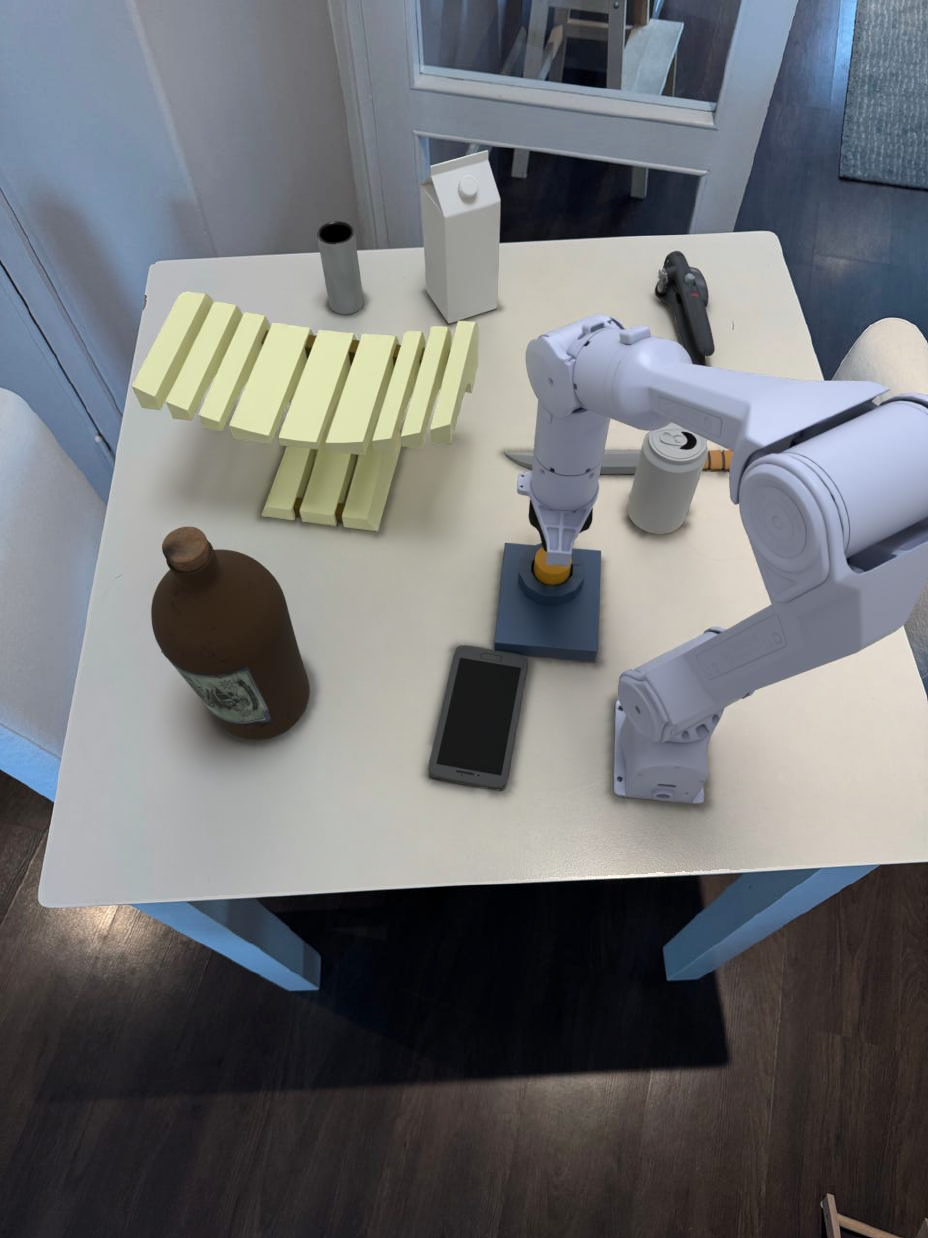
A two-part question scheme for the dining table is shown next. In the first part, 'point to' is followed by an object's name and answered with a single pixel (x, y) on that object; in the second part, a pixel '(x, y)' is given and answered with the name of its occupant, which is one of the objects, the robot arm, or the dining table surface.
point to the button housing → (548, 607)
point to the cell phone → (479, 717)
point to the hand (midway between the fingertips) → (555, 546)
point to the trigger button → (549, 570)
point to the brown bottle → (229, 636)
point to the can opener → (687, 305)
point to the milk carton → (461, 236)
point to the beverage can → (666, 478)
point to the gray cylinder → (340, 267)
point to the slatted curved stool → (311, 399)
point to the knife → (631, 460)
